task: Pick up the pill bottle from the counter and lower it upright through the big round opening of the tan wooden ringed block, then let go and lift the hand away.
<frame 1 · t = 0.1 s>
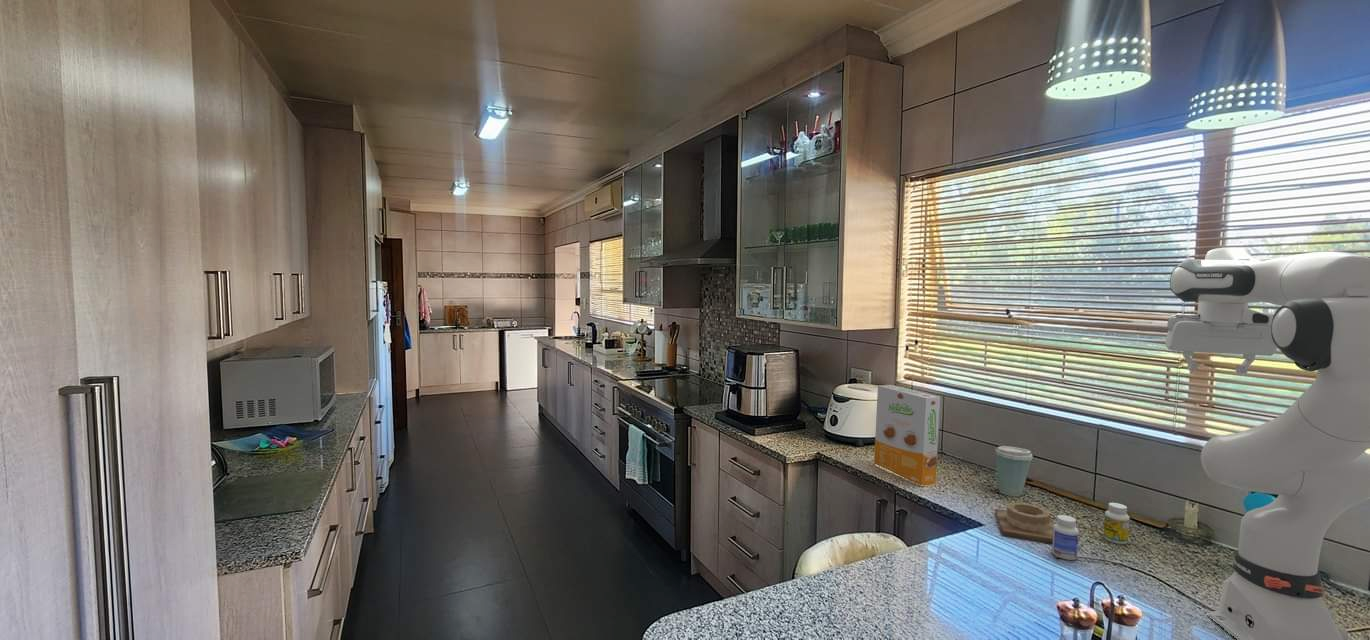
hand: (1216, 371, 140), 48 cm above the table, tool pointing down, fingers open, 8 cm apart
cereal box: (903, 475, 203), on the table
supplement bottle: (1115, 540, 155), on the table
pill bottle: (1064, 556, 145), on the table
tan wooden ringed block: (1027, 528, 160), on the table
disposable coffee cup: (1010, 493, 187), on the table
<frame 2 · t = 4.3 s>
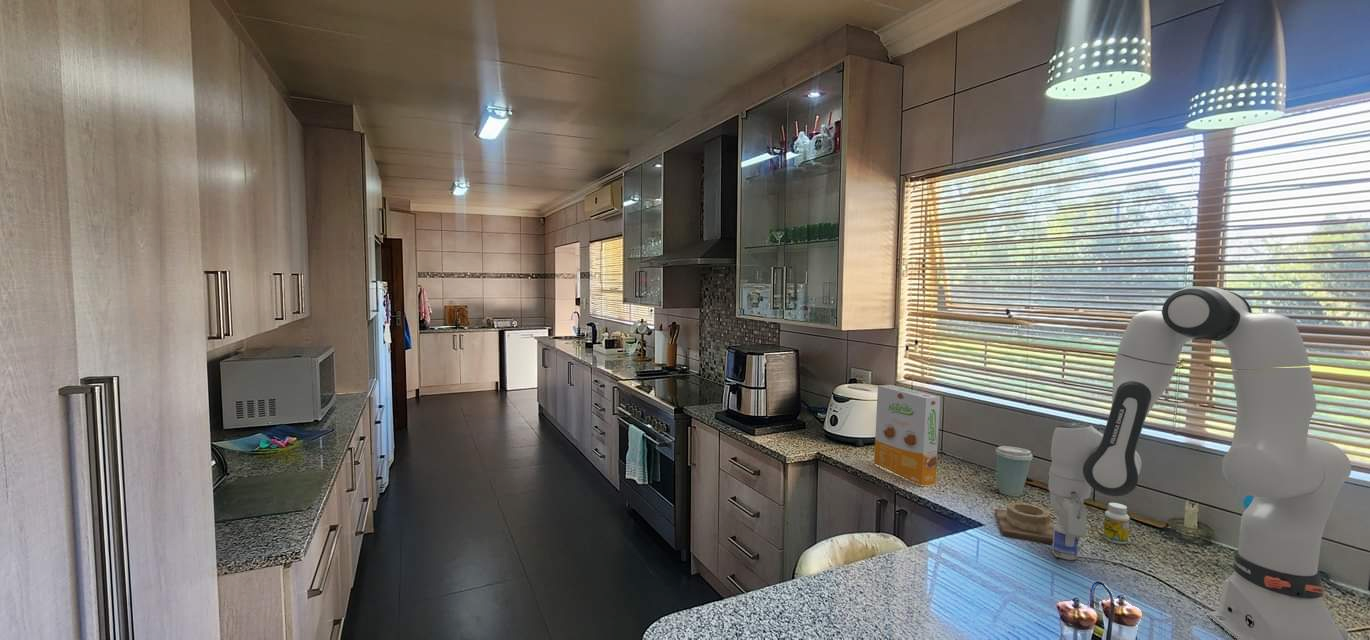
hand: (1065, 539, 145), 4 cm above the table, tool pointing down, fingers closed on pill bottle, 5 cm apart
pill bottle: (1064, 556, 145), on the table, touching gripper
everything else where it was.
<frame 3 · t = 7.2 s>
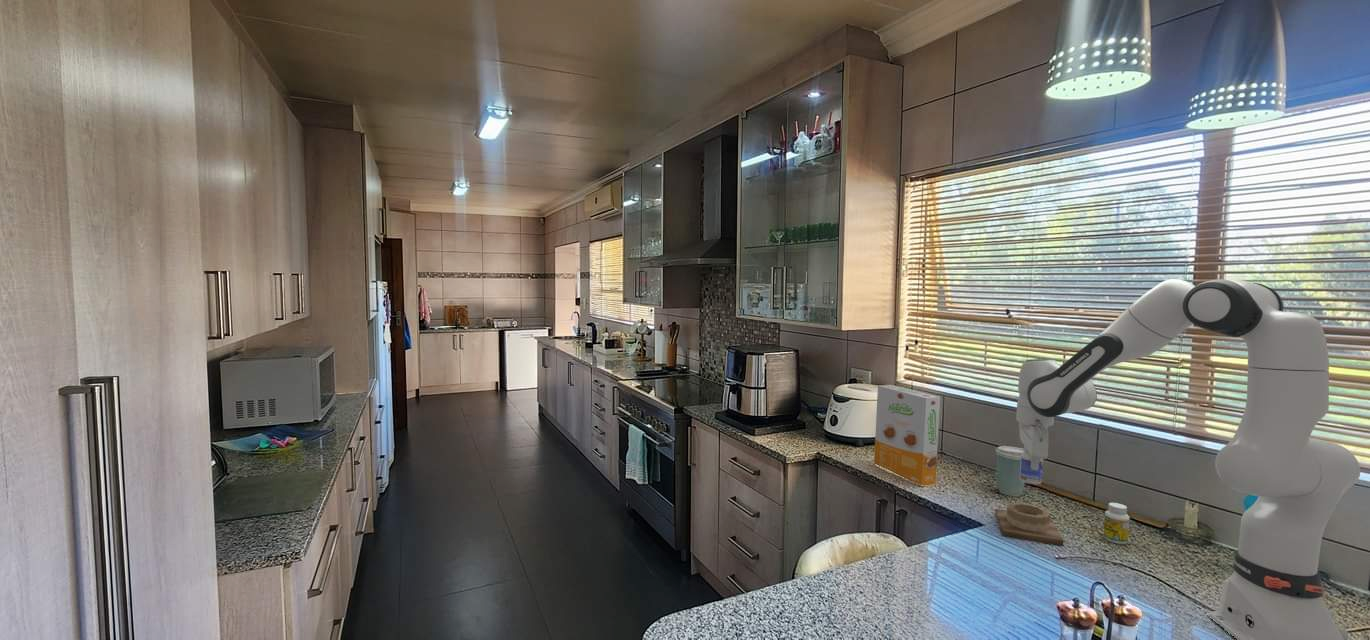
hand: (1031, 465, 159), 18 cm above the table, tool pointing down, fingers closed on pill bottle, 5 cm apart
pill bottle: (1029, 482, 159), point 13 cm above the table, touching gripper
everything else where it was.
when the fingers open (7 cm above the table, at t = 10.0 s): pill bottle stays where it is, resting on tan wooden ringed block.
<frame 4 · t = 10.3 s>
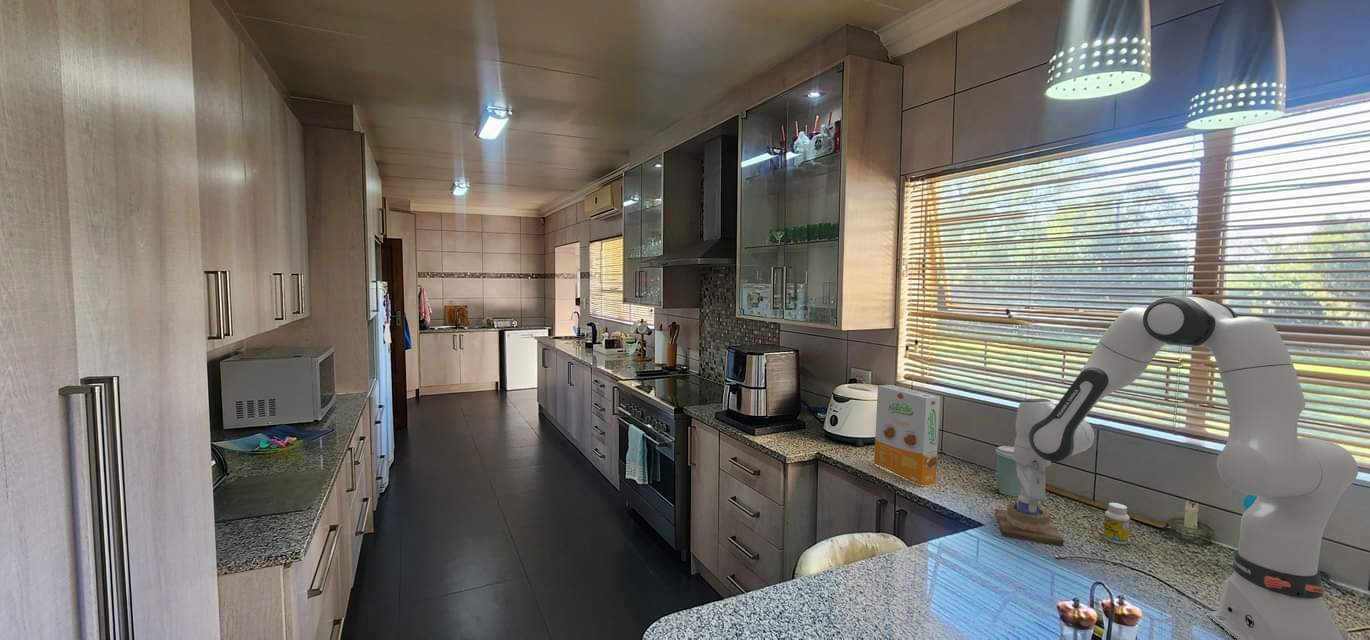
hand: (1028, 504, 160), 7 cm above the table, tool pointing down, fingers open, 8 cm apart
pill bottle: (1027, 524, 161), point 1 cm above the table, touching tan wooden ringed block
everything else where it was.
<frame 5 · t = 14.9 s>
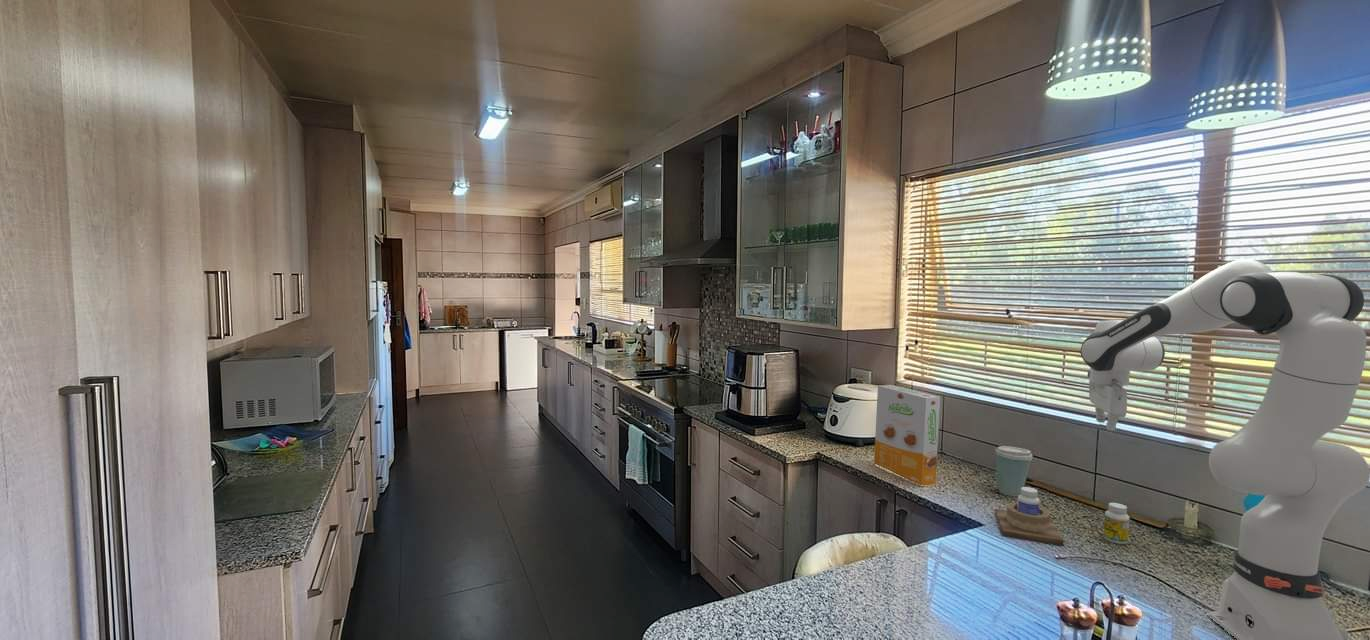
hand: (1105, 425, 160), 29 cm above the table, tool pointing down, fingers open, 8 cm apart
nothing on the table moved.
at the end: pill bottle 0.2 cm from the tan wooden ringed block (horizontally); pill bottle tilted 0°; pill bottle point 1.3 cm above the table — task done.
